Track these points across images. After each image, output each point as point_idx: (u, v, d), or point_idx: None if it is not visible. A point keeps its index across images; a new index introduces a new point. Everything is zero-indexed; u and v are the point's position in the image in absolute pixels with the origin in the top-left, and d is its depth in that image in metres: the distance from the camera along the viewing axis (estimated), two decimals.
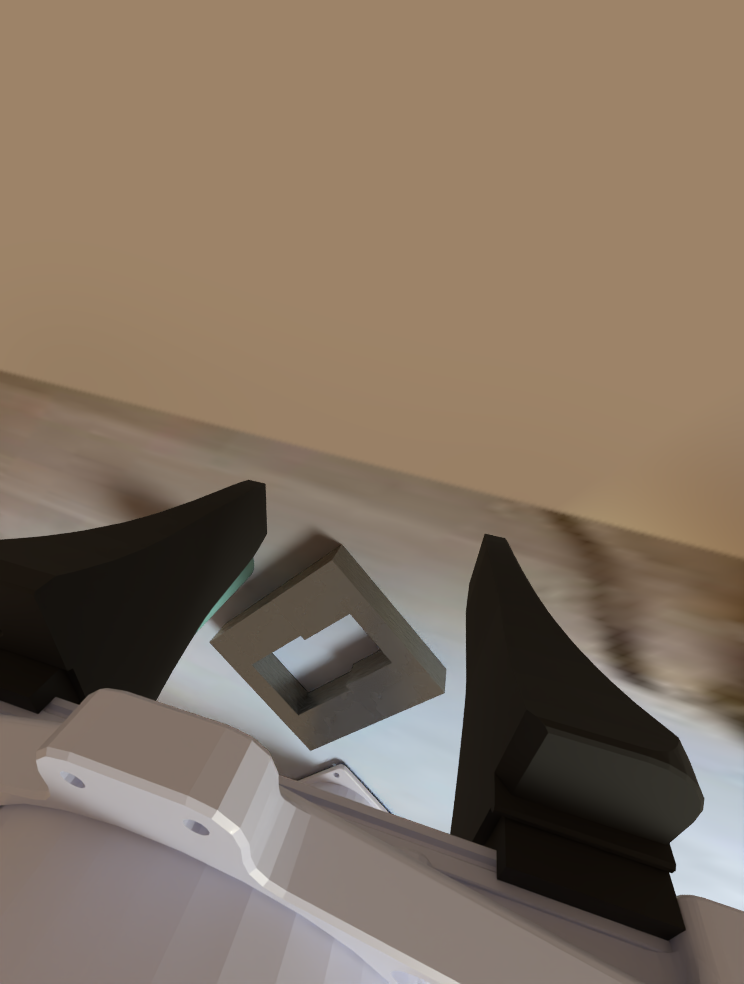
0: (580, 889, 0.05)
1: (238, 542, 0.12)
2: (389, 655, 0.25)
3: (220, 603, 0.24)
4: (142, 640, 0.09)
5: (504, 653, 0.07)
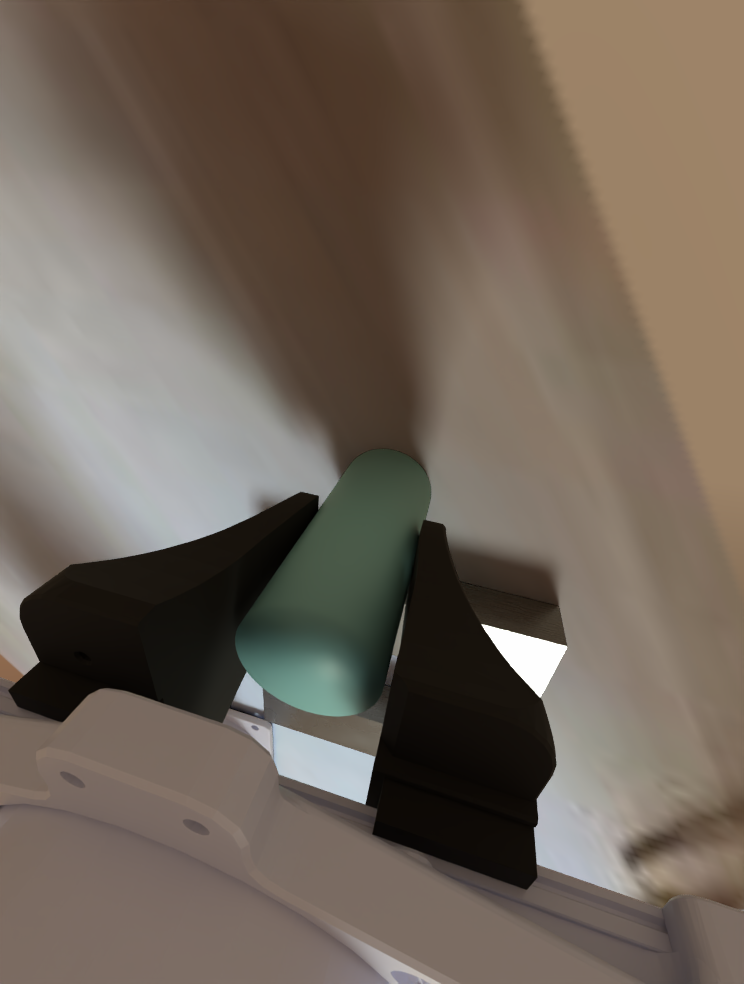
0: (443, 840, 0.06)
1: None
2: None
3: None
4: (216, 663, 0.09)
5: None
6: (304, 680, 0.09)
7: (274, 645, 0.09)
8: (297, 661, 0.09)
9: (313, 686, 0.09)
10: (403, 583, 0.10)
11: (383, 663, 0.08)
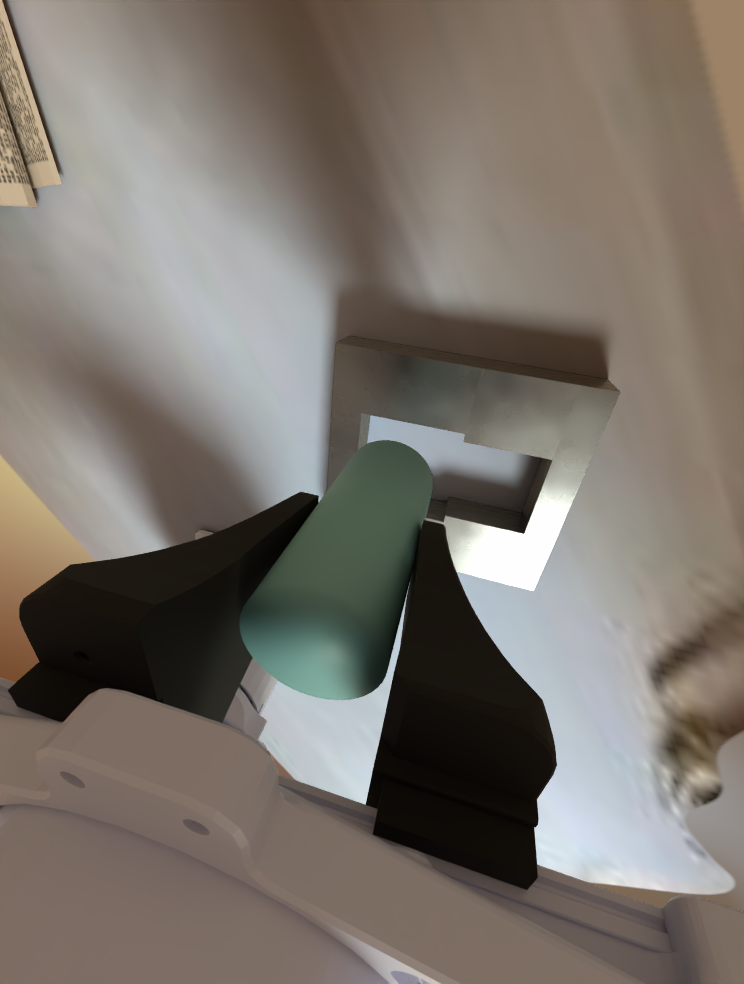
0: (444, 840, 0.06)
1: None
2: (531, 526, 0.20)
3: None
4: (216, 663, 0.09)
5: None
6: (308, 663, 0.09)
7: (278, 627, 0.09)
8: (301, 643, 0.09)
9: (317, 669, 0.09)
10: (406, 568, 0.10)
11: (387, 644, 0.08)
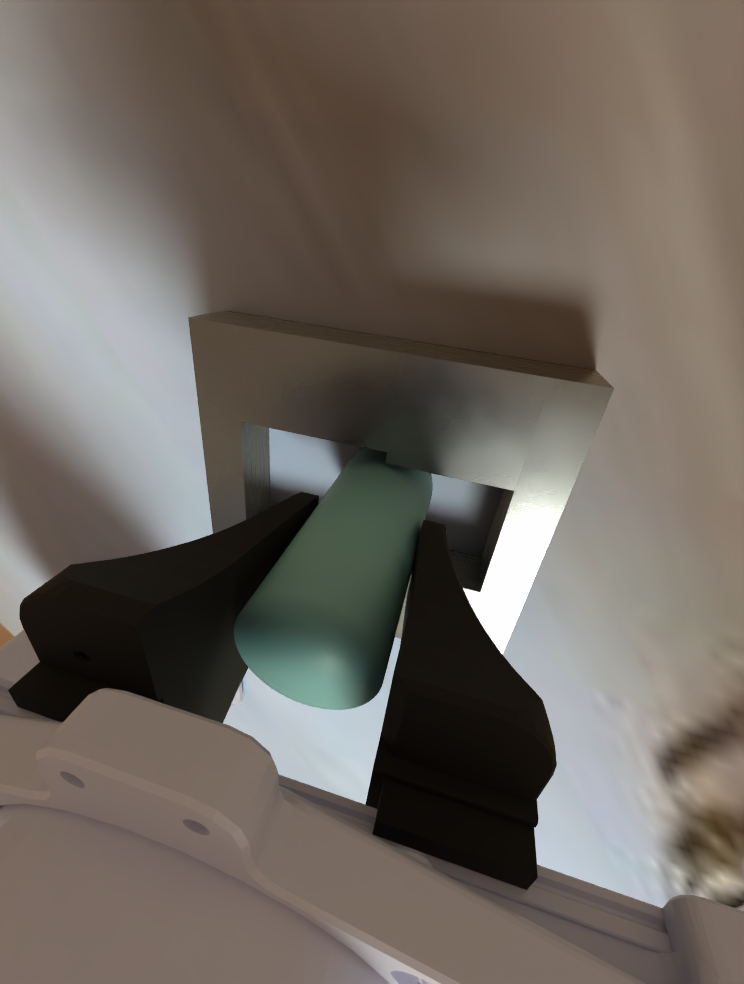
0: (444, 840, 0.06)
1: None
2: (490, 582, 0.14)
3: None
4: (216, 663, 0.09)
5: (405, 626, 0.08)
6: (303, 672, 0.09)
7: (273, 637, 0.09)
8: (296, 653, 0.09)
9: (312, 679, 0.09)
10: (404, 576, 0.10)
11: (383, 655, 0.08)
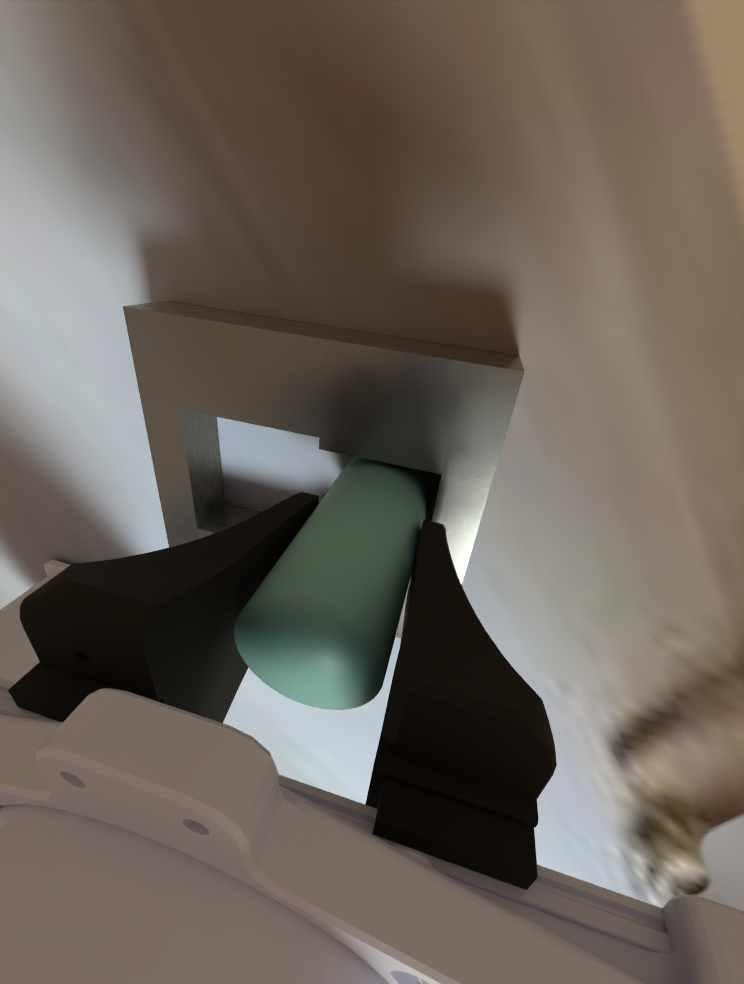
0: (443, 840, 0.06)
1: None
2: None
3: None
4: (216, 663, 0.09)
5: None
6: (303, 672, 0.09)
7: (273, 637, 0.09)
8: (297, 653, 0.09)
9: (313, 679, 0.09)
10: (404, 576, 0.10)
11: (384, 655, 0.08)
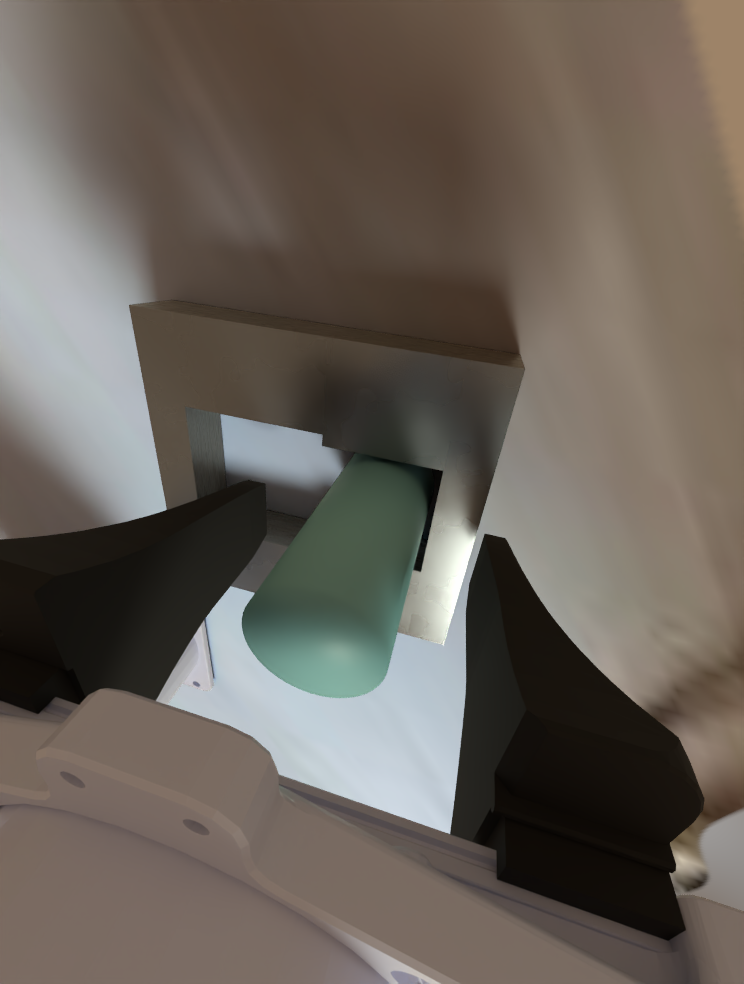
0: (579, 887, 0.05)
1: (238, 542, 0.12)
2: (429, 562, 0.15)
3: None
4: (142, 640, 0.09)
5: (504, 653, 0.07)
6: (310, 661, 0.09)
7: (280, 626, 0.09)
8: (303, 642, 0.09)
9: (318, 667, 0.09)
10: (407, 568, 0.10)
11: (388, 643, 0.08)
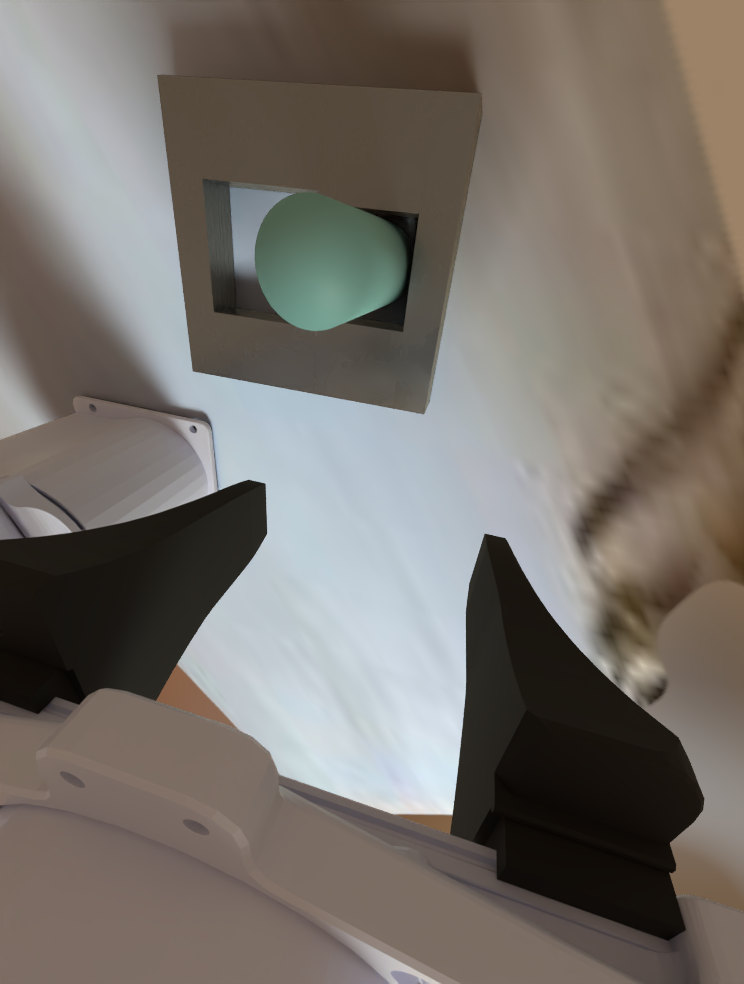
0: (579, 888, 0.05)
1: (238, 542, 0.12)
2: (409, 319, 0.17)
3: (370, 311, 0.15)
4: (142, 640, 0.09)
5: (504, 654, 0.07)
6: (308, 287, 0.12)
7: (285, 249, 0.11)
8: (303, 263, 0.11)
9: (315, 293, 0.12)
10: (386, 248, 0.13)
11: (368, 250, 0.11)
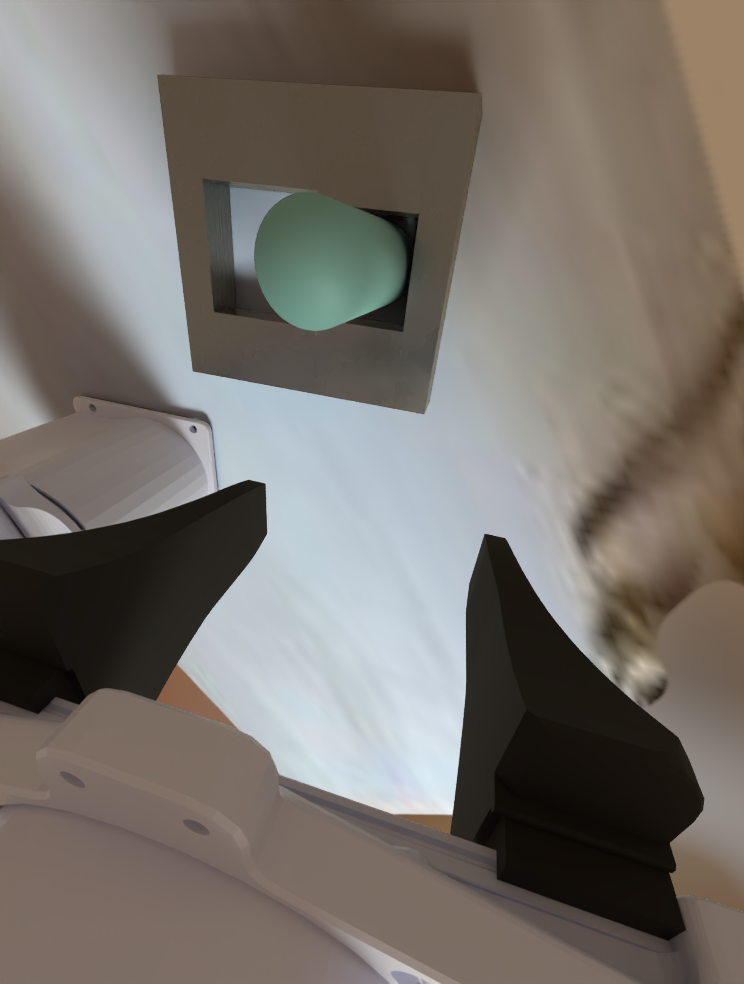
0: (579, 888, 0.05)
1: (238, 542, 0.12)
2: (409, 319, 0.17)
3: (370, 311, 0.15)
4: (142, 640, 0.09)
5: (504, 654, 0.07)
6: (307, 287, 0.12)
7: (284, 248, 0.11)
8: (302, 263, 0.11)
9: (314, 293, 0.12)
10: (385, 248, 0.13)
11: (367, 249, 0.11)
